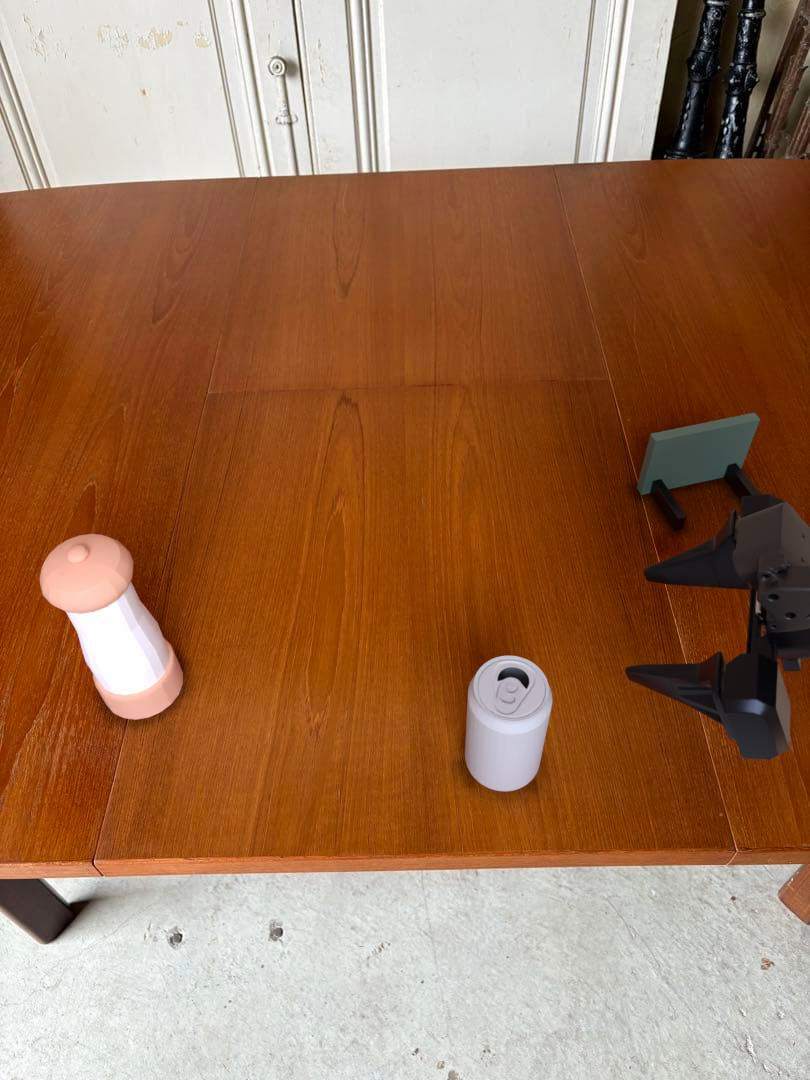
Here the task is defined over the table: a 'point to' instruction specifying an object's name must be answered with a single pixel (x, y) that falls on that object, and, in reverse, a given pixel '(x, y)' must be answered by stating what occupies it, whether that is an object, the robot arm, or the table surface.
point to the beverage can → (506, 722)
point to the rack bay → (697, 461)
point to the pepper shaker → (112, 625)
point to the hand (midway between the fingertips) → (636, 621)
